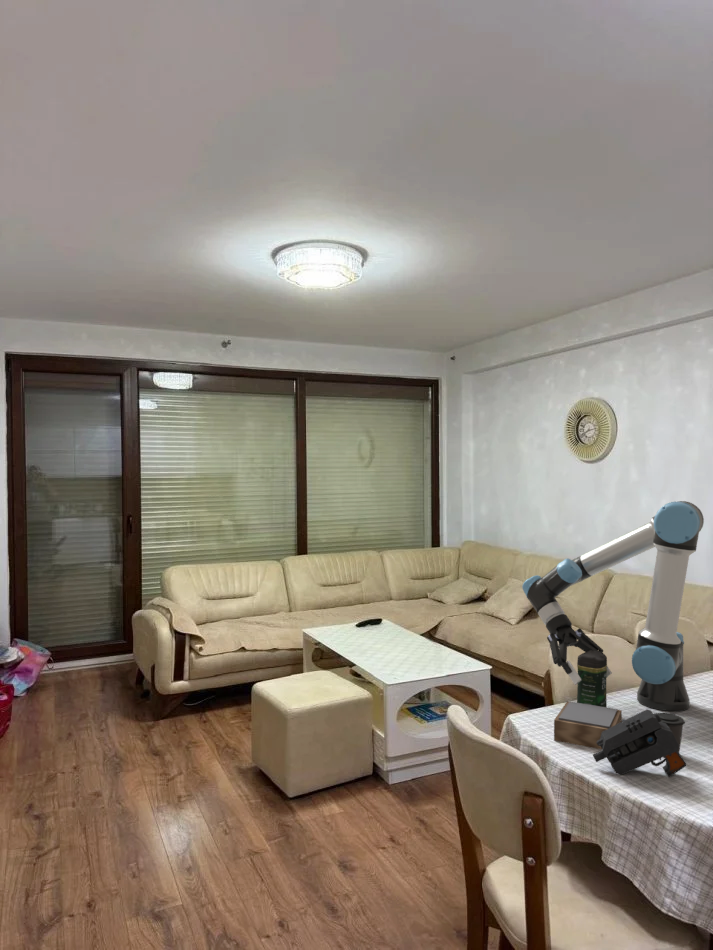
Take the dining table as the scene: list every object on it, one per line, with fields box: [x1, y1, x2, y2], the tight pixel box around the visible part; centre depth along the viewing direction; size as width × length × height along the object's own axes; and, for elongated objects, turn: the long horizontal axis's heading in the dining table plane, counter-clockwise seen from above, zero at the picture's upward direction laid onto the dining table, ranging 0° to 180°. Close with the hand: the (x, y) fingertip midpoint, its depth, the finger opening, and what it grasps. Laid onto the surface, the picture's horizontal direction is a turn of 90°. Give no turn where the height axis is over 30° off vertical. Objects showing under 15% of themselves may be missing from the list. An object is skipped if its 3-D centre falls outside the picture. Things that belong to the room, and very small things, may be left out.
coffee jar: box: [576, 650, 608, 708], centre depth 198 cm, size 10×8×19 cm
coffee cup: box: [656, 712, 686, 754], centre depth 169 cm, size 8×8×10 cm
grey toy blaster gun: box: [592, 708, 687, 778], centre depth 159 cm, size 6×19×15 cm, turn 78°
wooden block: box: [553, 701, 623, 751], centre depth 182 cm, size 15×17×6 cm
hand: (593, 679), depth 198 cm, fingers open, 13 cm apart
